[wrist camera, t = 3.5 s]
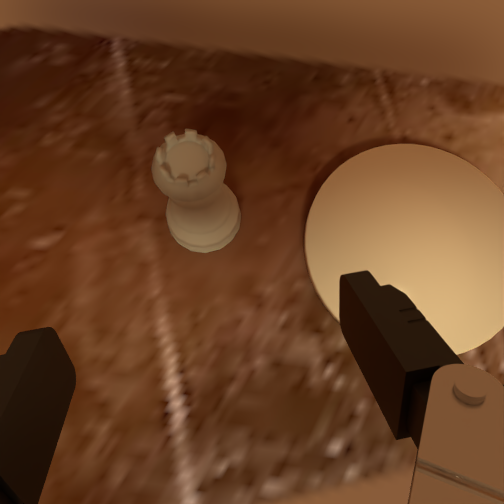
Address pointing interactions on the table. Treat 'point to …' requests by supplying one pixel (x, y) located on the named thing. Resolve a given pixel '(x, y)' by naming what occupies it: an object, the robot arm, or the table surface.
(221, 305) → the table surface
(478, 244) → the cream plate
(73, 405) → the table surface
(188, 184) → the rook chess piece
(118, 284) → the table surface
